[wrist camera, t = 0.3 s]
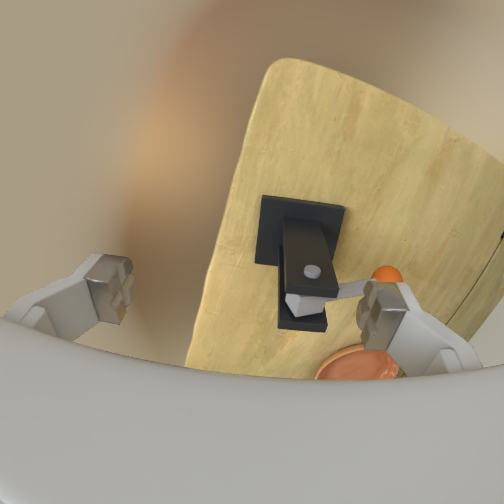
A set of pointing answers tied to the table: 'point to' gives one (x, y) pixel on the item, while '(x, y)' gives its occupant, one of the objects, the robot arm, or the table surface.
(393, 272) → the lever
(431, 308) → the table surface
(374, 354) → the saucer
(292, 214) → the switch base
